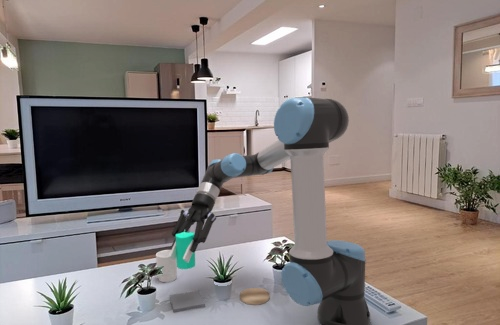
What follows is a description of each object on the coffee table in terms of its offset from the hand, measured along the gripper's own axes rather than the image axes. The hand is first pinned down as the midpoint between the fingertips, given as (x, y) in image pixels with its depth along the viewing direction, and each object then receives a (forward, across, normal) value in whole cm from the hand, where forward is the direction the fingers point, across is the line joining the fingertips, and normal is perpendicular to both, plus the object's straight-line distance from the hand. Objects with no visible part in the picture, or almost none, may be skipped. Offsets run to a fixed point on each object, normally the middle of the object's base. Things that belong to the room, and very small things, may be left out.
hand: (178, 259), depth 112 cm
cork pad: (0, -19, -22) cm, 29 cm away
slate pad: (+9, 0, -14) cm, 16 cm away
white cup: (+1, +18, -22) cm, 28 cm away
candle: (0, 0, -5) cm, 5 cm away
